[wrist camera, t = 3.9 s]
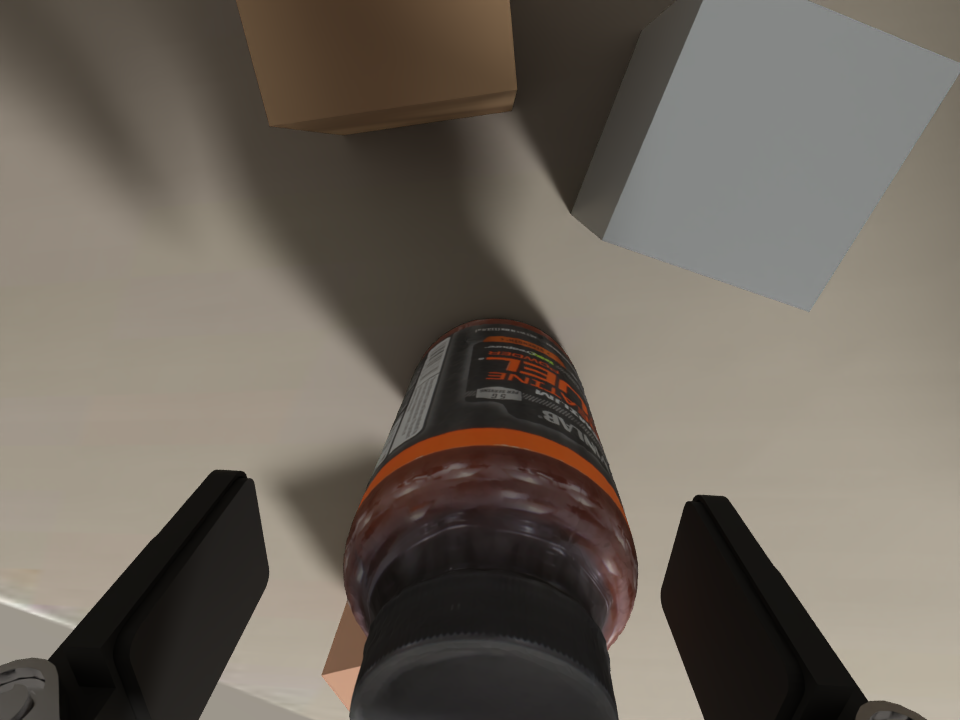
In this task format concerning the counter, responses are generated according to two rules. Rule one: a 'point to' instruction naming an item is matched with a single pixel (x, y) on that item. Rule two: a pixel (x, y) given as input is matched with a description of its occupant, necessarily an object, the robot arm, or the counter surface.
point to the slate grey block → (757, 140)
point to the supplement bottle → (490, 541)
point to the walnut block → (379, 61)
